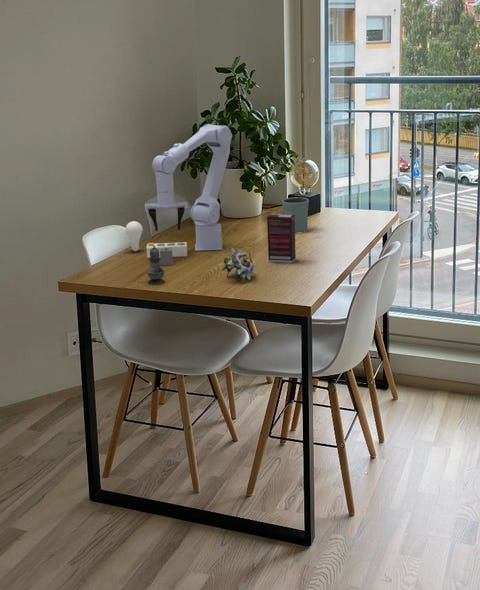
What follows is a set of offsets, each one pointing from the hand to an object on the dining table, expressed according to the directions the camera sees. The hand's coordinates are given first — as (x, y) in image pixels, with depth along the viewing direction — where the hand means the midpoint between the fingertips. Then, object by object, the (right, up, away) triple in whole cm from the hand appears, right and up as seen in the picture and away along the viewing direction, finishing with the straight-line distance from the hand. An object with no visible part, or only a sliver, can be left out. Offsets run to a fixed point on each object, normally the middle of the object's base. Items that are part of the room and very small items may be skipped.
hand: (167, 229), depth 309 cm
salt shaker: (-2, -19, -25) cm, 31 cm away
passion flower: (+24, -17, -23) cm, 38 cm away
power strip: (-1, -8, +7) cm, 11 cm away
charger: (0, -12, -4) cm, 13 cm away
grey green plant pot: (+46, +2, +36) cm, 59 cm away
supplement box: (+39, -11, -6) cm, 41 cm away
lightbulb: (-13, -7, +13) cm, 19 cm away
